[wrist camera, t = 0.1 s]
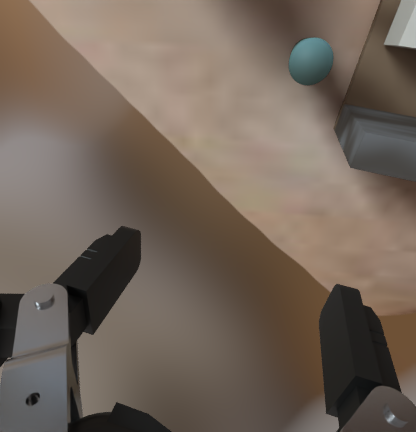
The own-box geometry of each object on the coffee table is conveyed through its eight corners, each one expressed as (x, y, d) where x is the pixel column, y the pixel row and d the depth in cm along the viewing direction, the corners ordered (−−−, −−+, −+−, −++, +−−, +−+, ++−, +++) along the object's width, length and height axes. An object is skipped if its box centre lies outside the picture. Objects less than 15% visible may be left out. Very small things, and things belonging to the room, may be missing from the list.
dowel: (295, 36, 31) (295, 34, 21) (325, 40, 31) (340, 41, 21) (287, 68, 33) (283, 81, 23) (315, 73, 33) (324, 88, 23)
